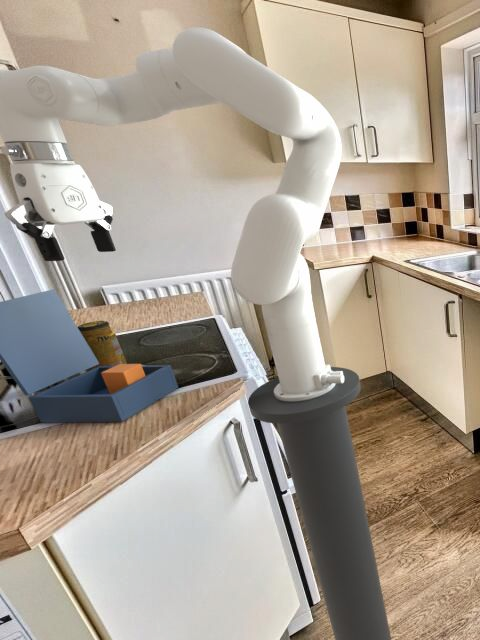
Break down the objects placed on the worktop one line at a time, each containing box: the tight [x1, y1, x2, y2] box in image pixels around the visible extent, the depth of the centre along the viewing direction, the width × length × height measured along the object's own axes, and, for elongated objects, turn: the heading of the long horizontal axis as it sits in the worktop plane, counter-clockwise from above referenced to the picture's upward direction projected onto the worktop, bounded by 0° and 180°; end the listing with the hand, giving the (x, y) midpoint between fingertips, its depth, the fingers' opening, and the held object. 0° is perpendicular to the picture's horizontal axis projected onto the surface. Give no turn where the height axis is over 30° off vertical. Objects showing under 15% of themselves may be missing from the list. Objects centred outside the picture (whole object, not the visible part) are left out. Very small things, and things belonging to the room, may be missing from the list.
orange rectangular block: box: [101, 363, 145, 394], centre depth 82 cm, size 4×4×7 cm
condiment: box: [77, 320, 144, 370], centre depth 96 cm, size 7×8×12 cm
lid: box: [0, 288, 99, 396], centre depth 79 cm, size 16×14×5 cm
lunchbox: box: [28, 364, 179, 424], centre depth 83 cm, size 16×14×5 cm
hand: (82, 255), depth 78 cm, fingers open, 9 cm apart
